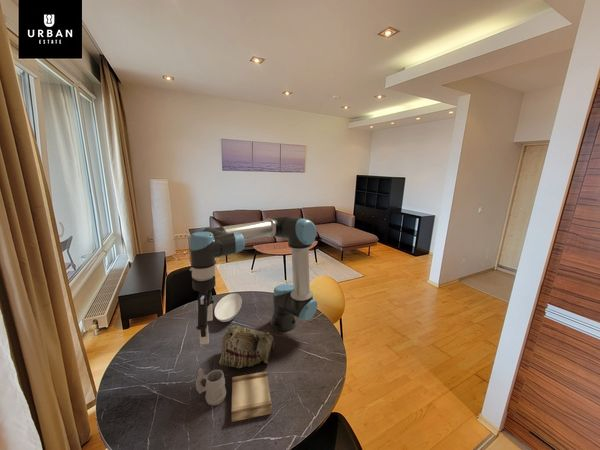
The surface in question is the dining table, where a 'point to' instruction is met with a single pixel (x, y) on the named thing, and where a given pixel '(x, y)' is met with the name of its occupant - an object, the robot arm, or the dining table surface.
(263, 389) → the plinth
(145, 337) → the dining table surface
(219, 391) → the mug
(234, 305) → the bowl
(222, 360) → the sculptural head
